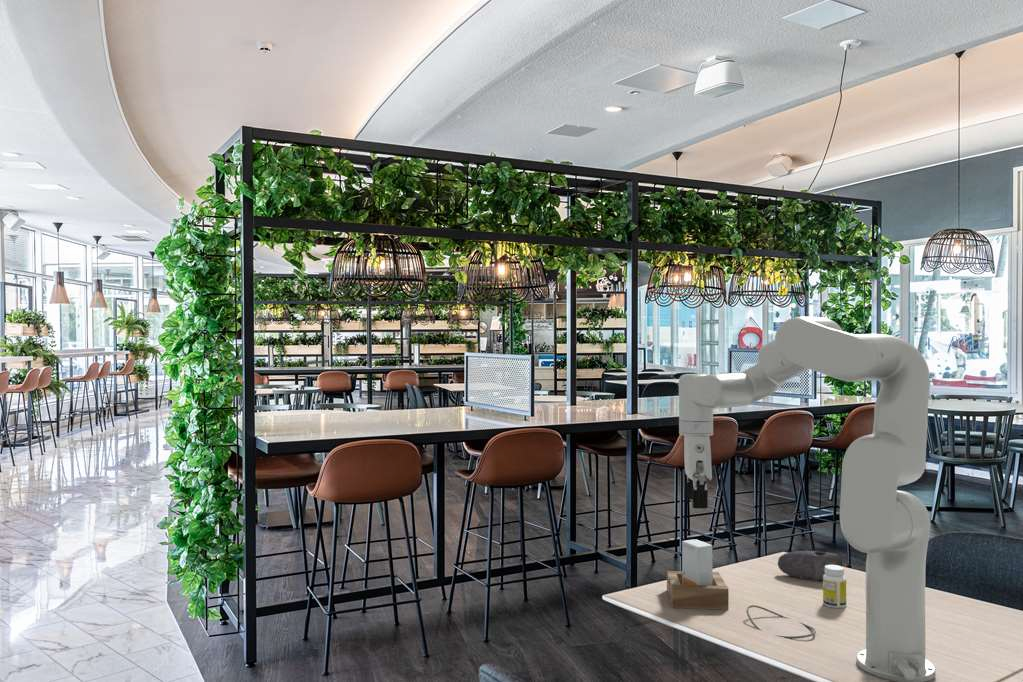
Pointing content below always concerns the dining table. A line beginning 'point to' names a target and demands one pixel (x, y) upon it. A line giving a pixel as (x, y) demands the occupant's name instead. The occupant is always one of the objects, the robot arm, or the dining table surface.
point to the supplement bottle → (834, 587)
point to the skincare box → (697, 563)
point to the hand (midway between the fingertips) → (696, 503)
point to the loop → (780, 616)
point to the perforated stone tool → (808, 563)
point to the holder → (697, 593)
